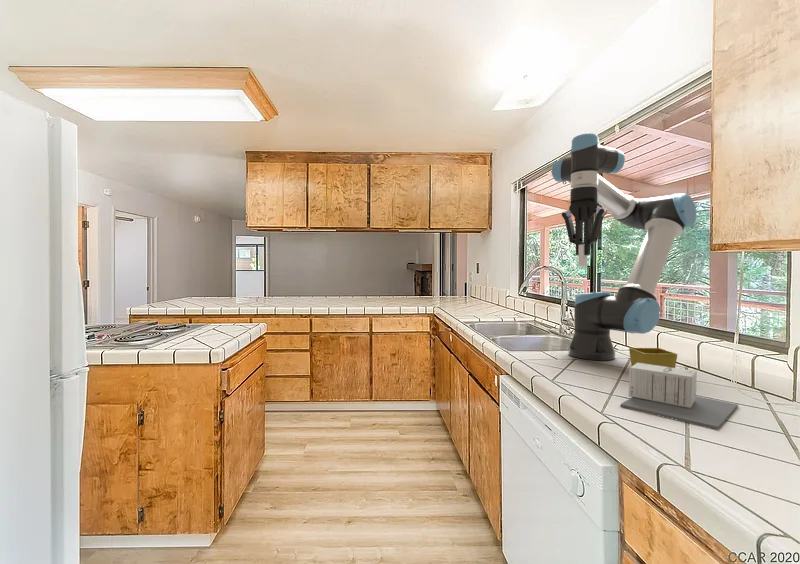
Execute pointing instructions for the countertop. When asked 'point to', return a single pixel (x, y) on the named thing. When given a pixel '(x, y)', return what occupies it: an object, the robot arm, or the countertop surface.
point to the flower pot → (653, 357)
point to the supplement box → (663, 384)
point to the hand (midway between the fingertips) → (582, 266)
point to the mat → (687, 410)
